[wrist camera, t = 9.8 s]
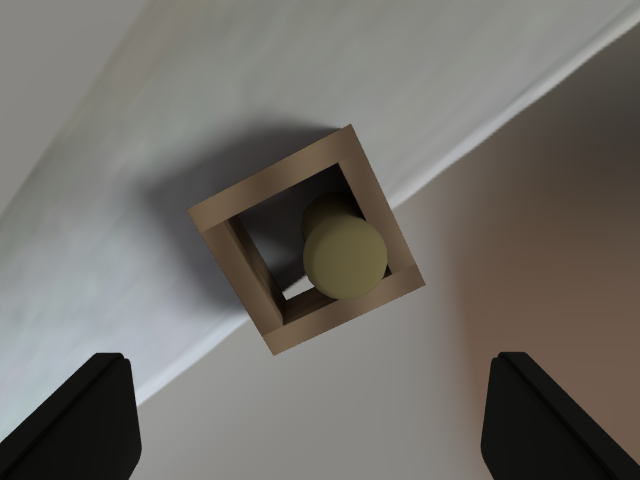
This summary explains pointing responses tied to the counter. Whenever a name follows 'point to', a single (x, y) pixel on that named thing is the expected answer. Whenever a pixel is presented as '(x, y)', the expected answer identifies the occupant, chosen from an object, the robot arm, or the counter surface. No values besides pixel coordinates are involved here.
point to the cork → (341, 247)
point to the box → (253, 274)
